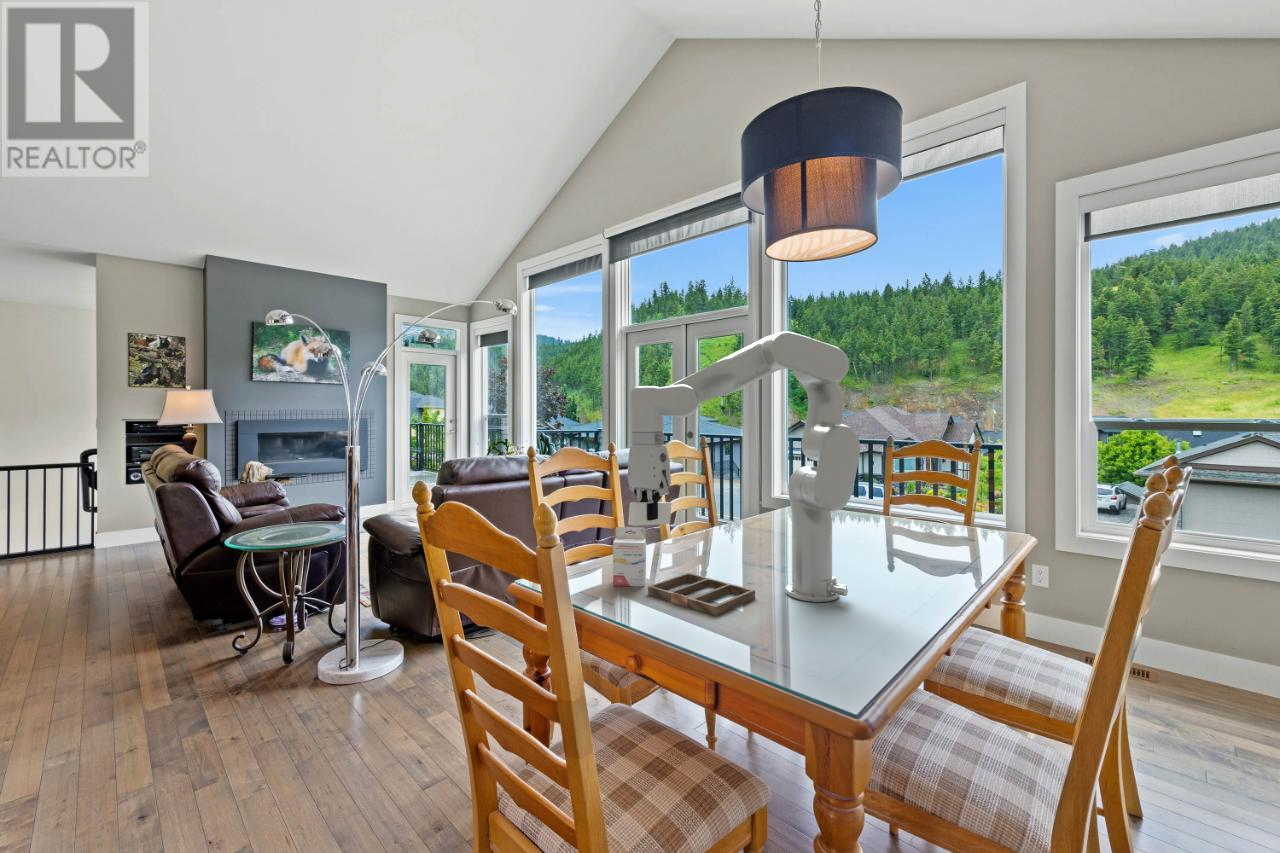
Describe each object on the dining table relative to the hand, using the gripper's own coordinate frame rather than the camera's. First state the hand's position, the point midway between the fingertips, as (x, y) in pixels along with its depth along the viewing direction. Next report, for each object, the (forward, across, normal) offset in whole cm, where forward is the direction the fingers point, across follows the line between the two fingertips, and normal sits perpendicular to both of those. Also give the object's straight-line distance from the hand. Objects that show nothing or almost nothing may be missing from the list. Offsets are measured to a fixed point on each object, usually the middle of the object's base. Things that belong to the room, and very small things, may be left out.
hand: (648, 518), depth 127 cm
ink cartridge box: (+21, +16, -9) cm, 28 cm away
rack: (+21, -4, -14) cm, 26 cm away
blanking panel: (+1, 0, 0) cm, 1 cm away
